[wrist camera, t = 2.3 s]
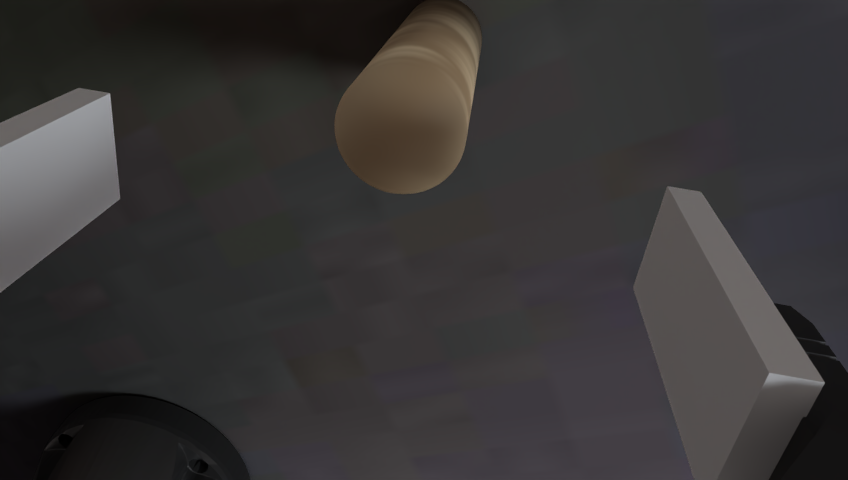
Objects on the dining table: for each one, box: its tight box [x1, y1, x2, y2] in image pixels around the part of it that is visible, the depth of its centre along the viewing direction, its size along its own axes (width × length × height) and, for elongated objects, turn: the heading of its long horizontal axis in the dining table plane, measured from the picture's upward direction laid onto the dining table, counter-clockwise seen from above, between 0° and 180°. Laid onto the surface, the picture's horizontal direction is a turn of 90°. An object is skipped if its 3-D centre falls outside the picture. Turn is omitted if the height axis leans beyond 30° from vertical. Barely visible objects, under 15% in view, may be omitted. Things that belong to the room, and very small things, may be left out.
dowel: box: [335, 0, 482, 194], centre depth 26 cm, size 4×4×15 cm
